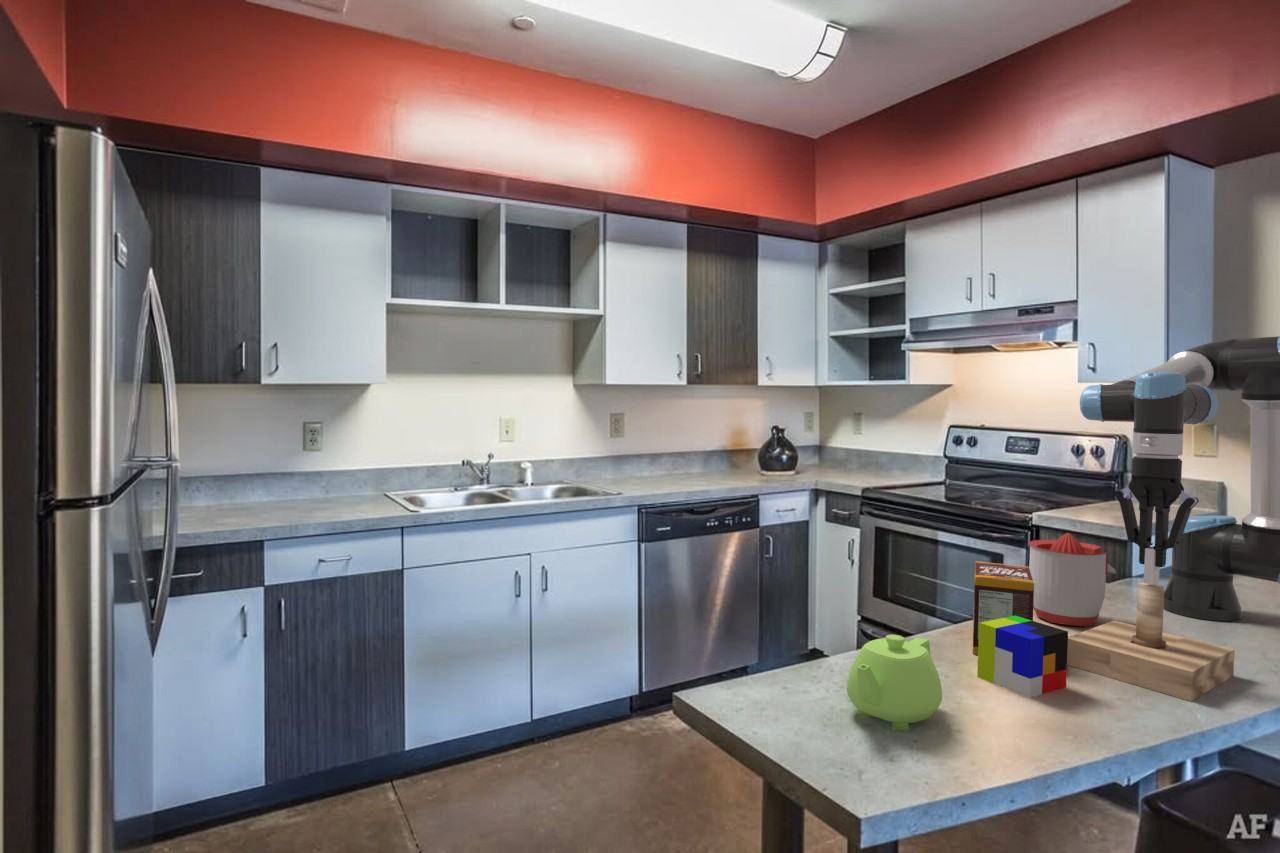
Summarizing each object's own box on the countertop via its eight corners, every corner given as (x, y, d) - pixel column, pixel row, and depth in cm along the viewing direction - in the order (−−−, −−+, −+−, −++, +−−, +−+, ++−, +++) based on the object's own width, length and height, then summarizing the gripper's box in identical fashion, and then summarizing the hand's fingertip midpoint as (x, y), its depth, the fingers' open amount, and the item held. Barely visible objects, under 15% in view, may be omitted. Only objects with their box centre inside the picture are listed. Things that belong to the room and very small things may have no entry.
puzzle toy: (1029, 698, 121) (1031, 639, 121) (977, 677, 130) (979, 622, 130) (1065, 687, 126) (1068, 631, 125) (1013, 668, 135) (1015, 615, 134)
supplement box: (1026, 639, 151) (1029, 565, 150) (1032, 663, 137) (1035, 582, 136) (972, 632, 155) (974, 560, 155) (972, 654, 141) (974, 576, 141)
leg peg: (1137, 662, 138) (1141, 580, 137) (1169, 671, 134) (1173, 586, 133) (1125, 668, 135) (1129, 583, 134) (1157, 677, 131) (1161, 590, 130)
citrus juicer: (1123, 635, 154) (1127, 542, 153) (1032, 625, 160) (1035, 536, 159) (1104, 614, 169) (1107, 530, 168) (1021, 606, 175) (1024, 524, 174)
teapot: (898, 751, 102) (900, 663, 101) (818, 718, 112) (820, 638, 112) (964, 713, 115) (967, 635, 114) (888, 686, 125) (890, 614, 125)
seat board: (1112, 644, 148) (1113, 620, 148) (1233, 676, 132) (1234, 649, 132) (1064, 663, 137) (1065, 637, 137) (1190, 701, 120) (1192, 671, 120)
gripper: (1108, 454, 136) (1103, 578, 137) (1191, 459, 125) (1185, 594, 126) (1126, 453, 140) (1121, 573, 141) (1207, 458, 129) (1201, 588, 130)
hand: (1151, 582), depth 134 cm, fingers closed
